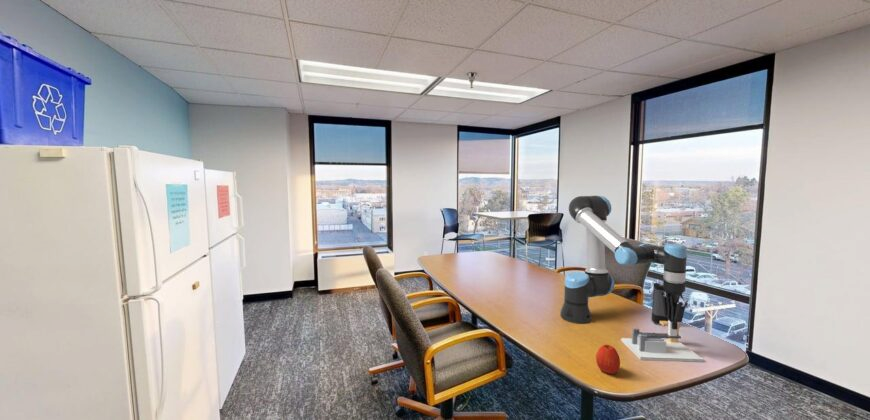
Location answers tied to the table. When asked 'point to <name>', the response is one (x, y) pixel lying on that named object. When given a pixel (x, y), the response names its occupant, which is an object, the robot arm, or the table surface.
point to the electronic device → (658, 304)
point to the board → (668, 356)
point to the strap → (658, 335)
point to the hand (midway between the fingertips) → (672, 335)
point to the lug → (665, 323)
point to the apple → (608, 359)
